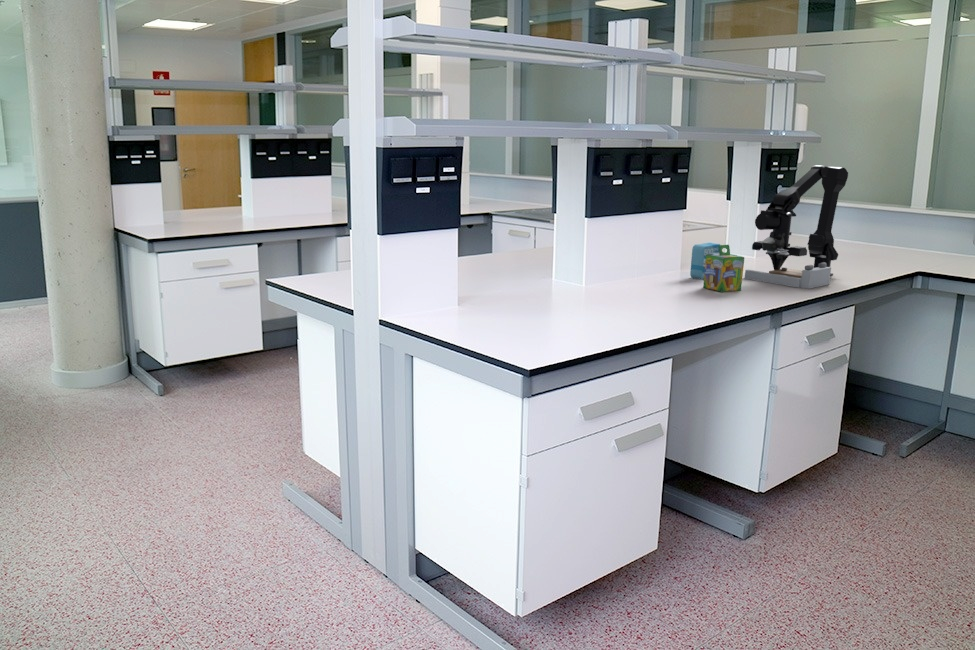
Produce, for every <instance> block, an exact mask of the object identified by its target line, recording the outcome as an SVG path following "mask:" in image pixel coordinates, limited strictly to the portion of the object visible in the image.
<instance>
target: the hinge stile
mask: <svg viewBox="0 0 975 650" xmlns="http://www.w3.org/2000/svg"><path fill="white" fill-rule="evenodd" d="M826 266H827V263H825V262H824V263H819V264H818V267H816V268H814V264H807V265H805V266H804V269H802V270H801V271H802V277H801V285H800V287H799V288H802V289H812V288H813V289H814V288H818V287H823V286H827V285H828V286H829V285H830V281H831V280H830V279H831V275H830V273H831V272H832V267H831V266H830V267H826Z"/></svg>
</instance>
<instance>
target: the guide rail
mask: <svg viewBox="0 0 975 650" xmlns="http://www.w3.org/2000/svg"><path fill="white" fill-rule="evenodd" d="M744 271H745V272H744V279H748V280H753V281H757V282H765V283H770V284H775V285H781V286H786V287H794V288H797V289H798V288H801V287H800V285H801V278H796V277H790V276H784V275H778V274H772V273H769V272H764V271H758V270H752V269H745V270H744Z"/></svg>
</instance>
